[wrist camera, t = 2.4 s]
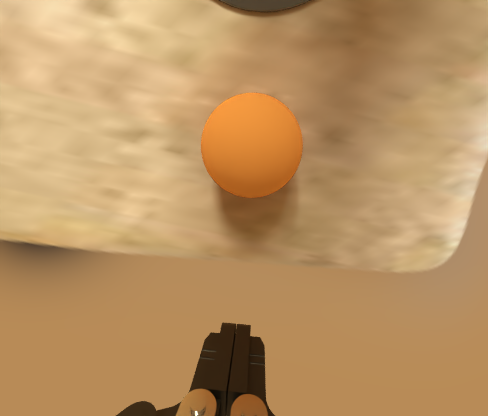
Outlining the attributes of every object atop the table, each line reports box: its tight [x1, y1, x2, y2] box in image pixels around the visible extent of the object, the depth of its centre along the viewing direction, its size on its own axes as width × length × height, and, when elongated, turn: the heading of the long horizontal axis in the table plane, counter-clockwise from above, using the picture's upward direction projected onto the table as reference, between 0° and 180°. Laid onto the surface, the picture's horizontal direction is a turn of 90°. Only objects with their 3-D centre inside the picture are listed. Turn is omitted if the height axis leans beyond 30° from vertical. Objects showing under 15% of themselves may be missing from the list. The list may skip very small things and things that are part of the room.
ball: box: [201, 93, 303, 198], centre depth 14 cm, size 6×6×6 cm
